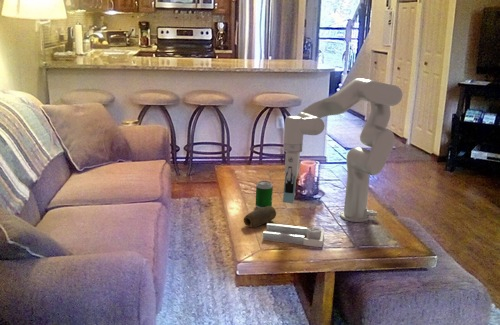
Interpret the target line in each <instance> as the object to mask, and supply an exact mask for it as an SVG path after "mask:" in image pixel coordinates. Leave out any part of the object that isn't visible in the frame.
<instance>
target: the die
mask: <svg viewBox="0 0 500 325" xmlns="http://www.w3.org/2000/svg"><path fill="white" fill-rule="evenodd" d="M308 228H309V229H308V231H307V235H306V238H308V239H317V240H320V236H321V230H322V229H320V228H319V227H308Z"/></svg>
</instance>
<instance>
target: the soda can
mask: <svg viewBox="0 0 500 325" xmlns="http://www.w3.org/2000/svg"><path fill="white" fill-rule="evenodd" d="M255 186H256V187H255V207H256V208H257V210H258V209H261V208H263V207H266V206H272V205H273V191H274V190H273V187H274V184H272V182H270V181H269V180H260V181H258V182H257V183H256V185H255ZM272 207H273V206H272Z"/></svg>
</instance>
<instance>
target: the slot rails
mask: <svg viewBox="0 0 500 325" xmlns="http://www.w3.org/2000/svg"><path fill="white" fill-rule="evenodd" d="M307 228H308V227H305V226H297V225H296V226H295V225H288V224H277V223H271V222H270V223H269V222H267V223H266V231H265V230H264V231H263V232H262V241H263V240H264V241H270V242H280V243H286V244H294V245H296V244H297V245H303V246H305V245H304V238H305V237H307V235H306V229H307Z"/></svg>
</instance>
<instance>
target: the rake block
mask: <svg viewBox="0 0 500 325" xmlns="http://www.w3.org/2000/svg"><path fill="white" fill-rule="evenodd" d="M286 174H287V173H286ZM291 176H293V175H291ZM286 177H287V175H286V176H285V175H284V185H283V196H282V203H287V204H294V201H295V196H296V188H297V187H296V185H297V184H296V183H297V177H295V176H294V178H293V183H294V186H293V193H286V192H285V184H286ZM291 179H292V178H291Z"/></svg>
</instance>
